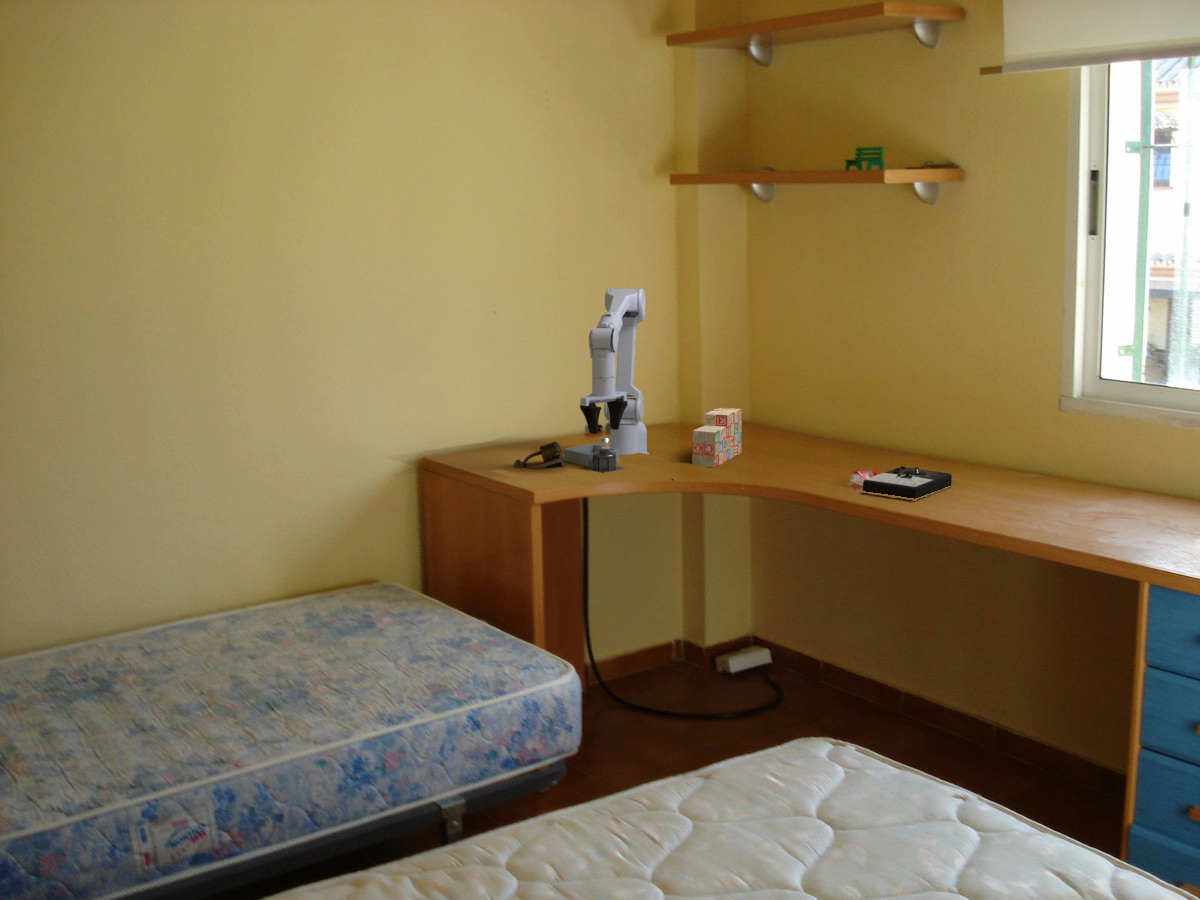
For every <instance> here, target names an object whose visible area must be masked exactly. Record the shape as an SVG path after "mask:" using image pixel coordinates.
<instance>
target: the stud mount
mask: <svg viewBox="0 0 1200 900" xmlns="http://www.w3.org/2000/svg"><path fill="white" fill-rule="evenodd" d="M583 469H585V470H588V471H592V472H598V473H601V474H604V473H605V474H606V473H610V472H615V471H620V470H627V469H628V468H627V467H623V466H620V465H619V466H618V465H616V469H614V470H608V471H605V470H595V469H593V468H592V466H584V467H583Z"/></svg>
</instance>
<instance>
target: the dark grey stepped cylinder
mask: <svg viewBox="0 0 1200 900" xmlns="http://www.w3.org/2000/svg"><path fill="white" fill-rule="evenodd" d="M598 445H599V452H594V453H593V457H592V468H593V469H595V470H605V471H608V470H614V469H616V466H617V462H616V453H615V452H610V447H611V437H610V436H600V437H598Z"/></svg>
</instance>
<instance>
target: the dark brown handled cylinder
mask: <svg viewBox="0 0 1200 900" xmlns="http://www.w3.org/2000/svg"><path fill="white" fill-rule="evenodd" d="M540 455H541V457H542V461H543V462H542V463H538V464H534V465H533V464H529V463H528V461H529V460H530V459H532V458H534V457H538V456H540ZM556 467H561V468H564V467H565V465H564V455H563V452H562V449H561V447H560V444H559V443H558V442H557V440H555V441H553V442H550V443H546V444H543V445H540V446H539V451H535V452H532V453H530V454H529V455H527V456H526V457H525V458H524V460H523V461H521V459H516V460H515V462H514V468H516V469H521V470H522V469H523V470H524V468H527V469H532V470H533V469H534V470H537V469H538V470H539V469H541V468H556Z"/></svg>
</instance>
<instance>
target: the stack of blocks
mask: <svg viewBox="0 0 1200 900" xmlns="http://www.w3.org/2000/svg"><path fill="white" fill-rule="evenodd" d="M742 418H743V409H742V408H733V407H732V408H729V407H719V408H714V409H713V410H710V411H708V412H706V413H705V414H704V425H703V426H701V427H698V428H696V429H693V431H692V442H691V443H692V445H691V447H692V448H691V449H692V450H691V453H692V454H691V456H692V457H691V460H692V463H691V465H694V466H695V465H696V466H700V467H704V468H716V467H718V466H720V465H722V464H724V463H726V462H727V460H728V461H729V460H731V459H732V457H733V458H735V457H737V456H738V454H739V455H741V454H742V445H743V444H742V434H743V433H742V432H743V430H742V429H743V426H742V425H743V419H742ZM740 453H741V454H740ZM736 455H737V456H736ZM734 456H735V457H734Z"/></svg>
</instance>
